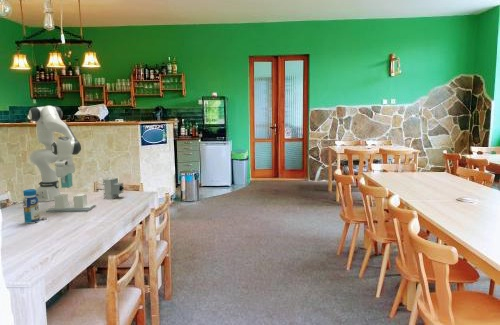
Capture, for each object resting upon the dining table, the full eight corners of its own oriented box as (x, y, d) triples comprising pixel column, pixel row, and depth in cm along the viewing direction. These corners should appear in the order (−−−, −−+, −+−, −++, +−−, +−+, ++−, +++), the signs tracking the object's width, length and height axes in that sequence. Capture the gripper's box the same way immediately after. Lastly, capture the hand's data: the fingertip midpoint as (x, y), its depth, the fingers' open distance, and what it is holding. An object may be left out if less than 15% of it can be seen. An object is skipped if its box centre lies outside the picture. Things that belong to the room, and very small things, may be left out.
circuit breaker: (120, 199, 303) (119, 179, 301) (104, 198, 306) (102, 179, 304) (125, 197, 310) (124, 178, 308) (109, 196, 313) (108, 177, 311)
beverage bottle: (25, 221, 246) (22, 189, 243) (40, 219, 249) (38, 188, 247) (23, 224, 238) (20, 192, 236) (39, 222, 242) (36, 190, 239)
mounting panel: (46, 212, 267) (44, 197, 265) (55, 207, 281) (54, 193, 279) (88, 211, 267) (86, 196, 266) (95, 206, 281) (94, 192, 280)
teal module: (61, 187, 266) (60, 174, 265) (65, 185, 272) (64, 173, 270) (69, 187, 266) (68, 174, 265) (72, 185, 272) (71, 173, 270)
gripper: (67, 159, 277) (68, 178, 279) (53, 163, 256) (54, 184, 259) (76, 159, 277) (77, 178, 279) (63, 163, 256) (64, 184, 259)
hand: (66, 181), depth 268 cm, fingers closed on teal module, 5 cm apart
